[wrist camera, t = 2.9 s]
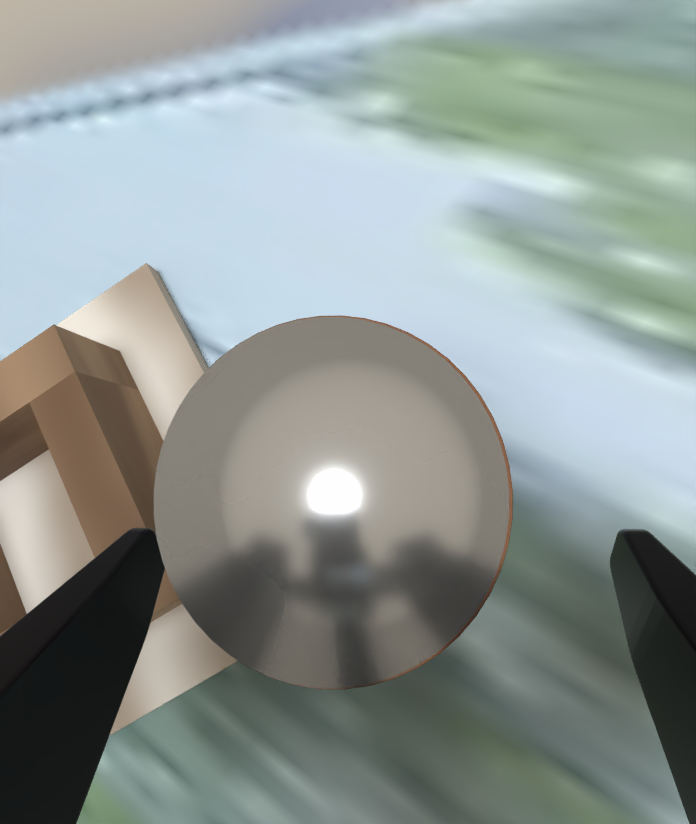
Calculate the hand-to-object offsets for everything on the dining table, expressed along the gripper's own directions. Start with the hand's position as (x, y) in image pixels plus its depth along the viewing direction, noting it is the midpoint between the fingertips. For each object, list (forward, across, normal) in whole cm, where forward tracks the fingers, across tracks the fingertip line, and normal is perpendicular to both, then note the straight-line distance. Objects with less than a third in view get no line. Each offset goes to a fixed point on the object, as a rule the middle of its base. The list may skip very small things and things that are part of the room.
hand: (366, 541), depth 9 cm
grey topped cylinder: (+7, 0, +6) cm, 9 cm away
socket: (+6, +14, +6) cm, 16 cm away
